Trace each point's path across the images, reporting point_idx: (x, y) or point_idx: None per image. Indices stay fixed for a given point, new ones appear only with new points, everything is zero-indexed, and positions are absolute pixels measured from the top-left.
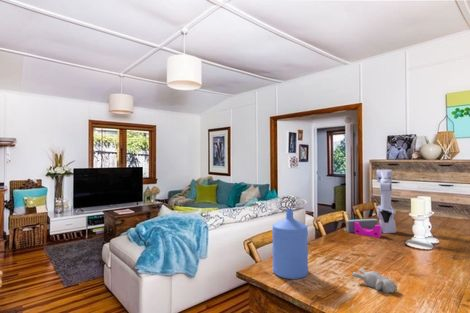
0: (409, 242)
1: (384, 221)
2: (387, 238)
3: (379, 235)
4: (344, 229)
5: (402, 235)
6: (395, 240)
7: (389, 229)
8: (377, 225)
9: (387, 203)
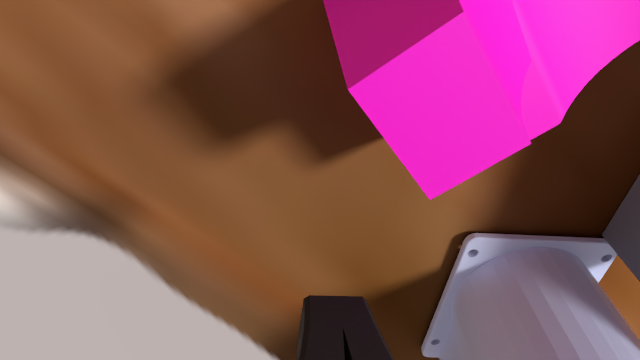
0: (25, 225)
1: (343, 318)
2: (252, 95)
3: (327, 7)
4: None
5: None
6: (131, 129)
7: (463, 325)
8: (447, 110)
9: None
